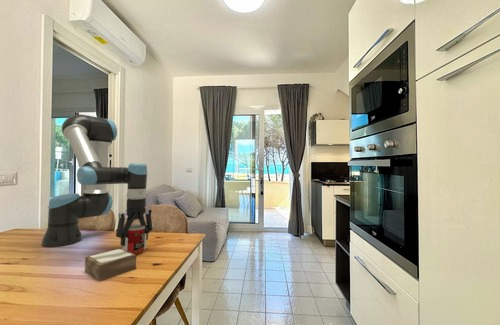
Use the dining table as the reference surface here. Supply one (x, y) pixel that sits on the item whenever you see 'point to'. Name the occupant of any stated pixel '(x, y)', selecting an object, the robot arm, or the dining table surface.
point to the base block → (110, 263)
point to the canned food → (136, 239)
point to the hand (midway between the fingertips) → (134, 250)
